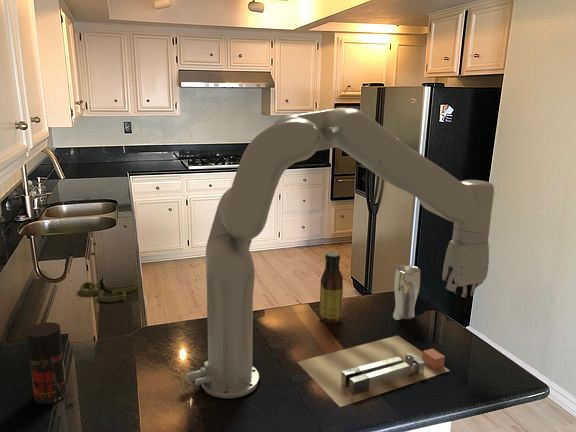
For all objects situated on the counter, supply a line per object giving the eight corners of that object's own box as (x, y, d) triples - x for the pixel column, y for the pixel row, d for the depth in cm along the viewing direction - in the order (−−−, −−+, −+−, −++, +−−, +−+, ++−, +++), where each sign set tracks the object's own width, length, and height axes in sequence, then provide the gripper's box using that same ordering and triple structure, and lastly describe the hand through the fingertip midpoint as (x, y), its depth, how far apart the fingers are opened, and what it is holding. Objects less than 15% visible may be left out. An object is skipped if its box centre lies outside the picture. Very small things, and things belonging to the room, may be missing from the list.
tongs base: (409, 363, 109) (411, 350, 108) (423, 374, 105) (425, 359, 104) (341, 384, 100) (342, 369, 99) (354, 396, 96) (355, 381, 95)
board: (339, 412, 93) (340, 406, 93) (296, 366, 109) (296, 362, 108) (449, 375, 107) (449, 370, 106) (397, 339, 122) (397, 335, 122)
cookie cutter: (143, 290, 149) (143, 285, 149) (118, 305, 138) (118, 299, 138) (97, 282, 155) (96, 276, 154) (70, 296, 144) (69, 290, 143)
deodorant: (30, 395, 96) (22, 328, 92) (60, 383, 100) (53, 319, 96) (40, 408, 92) (31, 340, 88) (71, 396, 96) (64, 329, 92)
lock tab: (431, 357, 111) (432, 348, 111) (443, 366, 108) (445, 356, 107) (421, 360, 110) (422, 351, 110) (434, 369, 107) (435, 359, 106)
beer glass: (386, 314, 136) (390, 266, 133) (406, 311, 139) (411, 263, 135) (400, 325, 130) (405, 274, 126) (421, 321, 133) (426, 272, 129)
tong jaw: (397, 368, 107) (398, 356, 106) (401, 371, 105) (402, 360, 105) (341, 383, 100) (341, 371, 100) (345, 387, 99) (345, 375, 98)
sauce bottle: (327, 312, 137) (330, 247, 132) (345, 319, 133) (349, 252, 128) (314, 320, 132) (317, 253, 127) (332, 327, 128) (336, 258, 123)
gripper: (480, 227, 111) (471, 298, 116) (433, 235, 105) (426, 310, 109) (507, 235, 105) (497, 310, 110) (459, 244, 98) (450, 324, 103)
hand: (462, 310), depth 109 cm, fingers closed
